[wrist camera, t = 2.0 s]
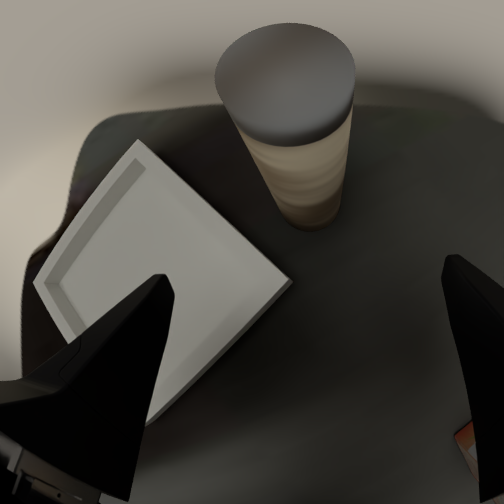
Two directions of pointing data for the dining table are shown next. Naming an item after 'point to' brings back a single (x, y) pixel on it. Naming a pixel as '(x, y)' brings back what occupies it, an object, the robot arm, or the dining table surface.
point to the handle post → (293, 114)
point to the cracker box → (471, 452)
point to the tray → (159, 268)
